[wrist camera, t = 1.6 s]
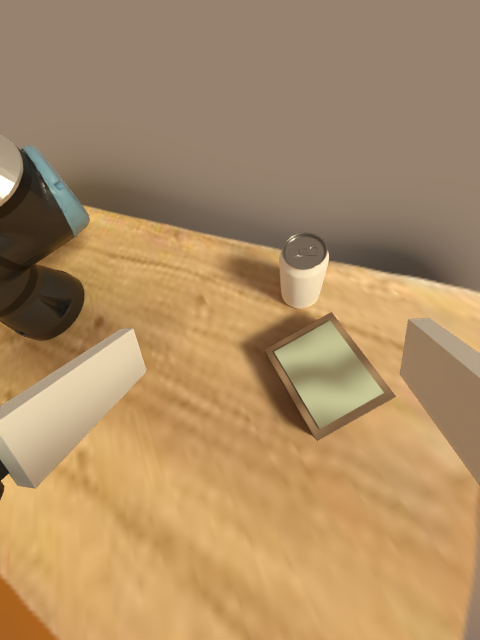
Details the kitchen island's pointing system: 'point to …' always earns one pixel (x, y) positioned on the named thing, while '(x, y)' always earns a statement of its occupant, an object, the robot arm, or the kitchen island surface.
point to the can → (302, 269)
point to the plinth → (327, 376)
